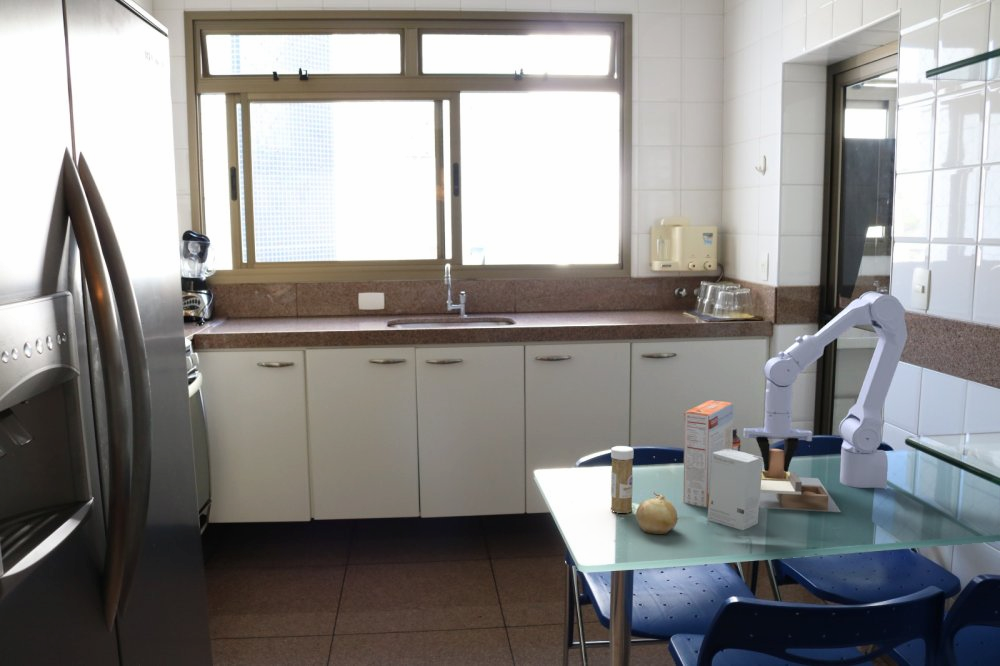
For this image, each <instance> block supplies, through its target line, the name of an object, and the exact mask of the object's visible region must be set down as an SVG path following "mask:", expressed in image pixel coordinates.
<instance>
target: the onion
mask: <svg viewBox="0 0 1000 666" xmlns="http://www.w3.org/2000/svg"><path fill="white" fill-rule="evenodd" d="M653 494H654V495H655V497H653V498H652V497H651V498H648V499H645V500H644V501H642V502H641V503H640V504H639V505H638V507H637V508H636V512H635V517H636V521H637V523H638V525H639V526H640V528H641V530H642V531H643V532H644V533H647V534H653V535H665V534H668V533H669V532H670V531H672V530H673V529H674V528H675V527H676V525H677V524H678V512H677V510H676V508H675V506H674V505H673V504H672V502H671V501H669V500H668V499H667V498H665V496H664V495H663V494H661V493H659V494H657V493H656V492H655V491H653Z"/></svg>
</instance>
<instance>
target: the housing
mask: <svg viewBox="0 0 1000 666" xmlns="http://www.w3.org/2000/svg"><path fill="white" fill-rule="evenodd" d="M776 498H777V500H778V502H779V504H780V506H781V508H789V509H808V510H828V495H827V494H826V492H825V491H824V489H823V488H822V486H816V485H802V487H801V495H800V494H779V493H777V494H776ZM808 510H807V511H808Z"/></svg>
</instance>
